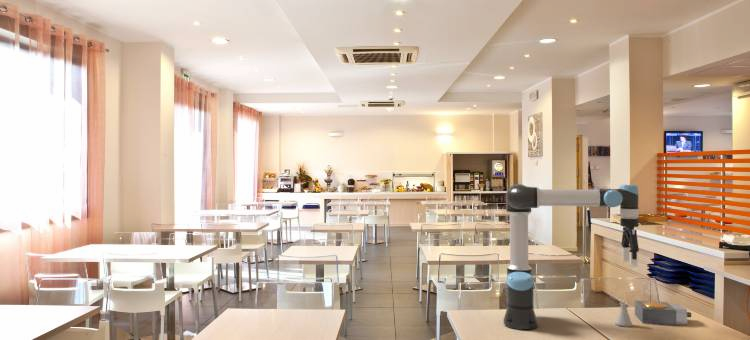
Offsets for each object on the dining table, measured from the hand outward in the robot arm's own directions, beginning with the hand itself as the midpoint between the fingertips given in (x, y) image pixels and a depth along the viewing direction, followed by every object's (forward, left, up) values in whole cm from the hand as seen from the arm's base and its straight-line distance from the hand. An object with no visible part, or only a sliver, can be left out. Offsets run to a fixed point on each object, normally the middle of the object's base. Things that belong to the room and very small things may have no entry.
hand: (629, 264), depth 226 cm
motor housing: (+17, +11, -28) cm, 34 cm away
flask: (-3, -1, -28) cm, 28 cm away
